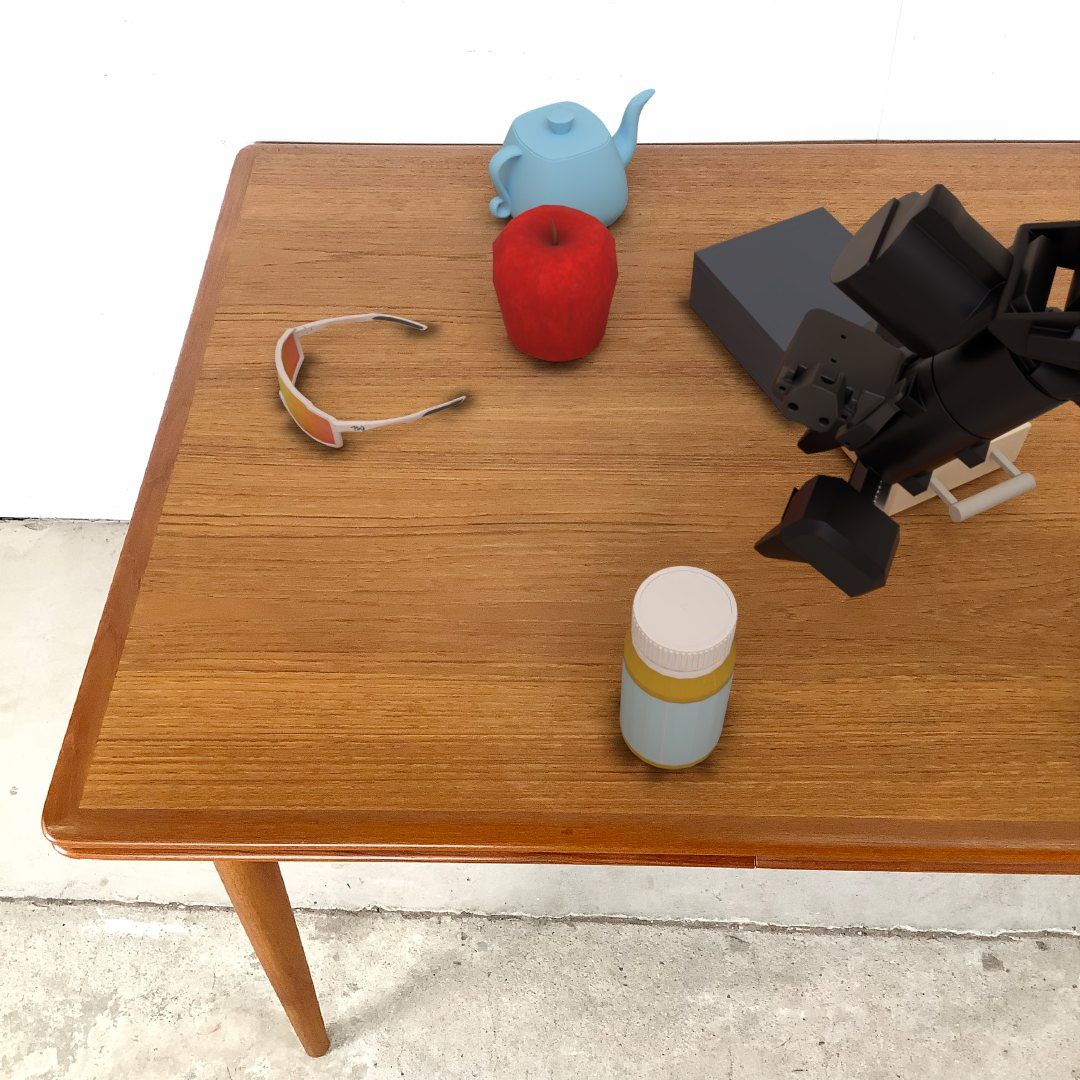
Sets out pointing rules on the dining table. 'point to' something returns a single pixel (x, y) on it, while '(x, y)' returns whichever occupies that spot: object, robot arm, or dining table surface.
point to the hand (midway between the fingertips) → (781, 497)
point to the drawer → (958, 474)
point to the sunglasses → (303, 410)
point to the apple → (555, 281)
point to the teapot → (566, 161)
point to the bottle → (678, 667)
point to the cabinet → (770, 288)
